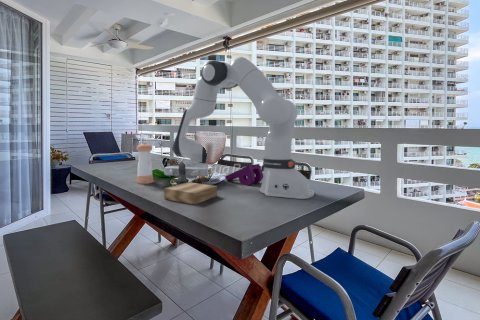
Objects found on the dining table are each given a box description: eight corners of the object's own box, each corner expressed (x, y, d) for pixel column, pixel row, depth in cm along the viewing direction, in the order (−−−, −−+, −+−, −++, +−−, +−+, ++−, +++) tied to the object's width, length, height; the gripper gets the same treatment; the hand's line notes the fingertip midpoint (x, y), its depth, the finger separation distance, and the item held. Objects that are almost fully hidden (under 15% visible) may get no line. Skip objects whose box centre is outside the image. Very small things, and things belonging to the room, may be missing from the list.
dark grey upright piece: (188, 189, 117) (188, 161, 116) (174, 189, 117) (174, 161, 115) (189, 186, 123) (189, 160, 122) (176, 186, 123) (176, 160, 121)
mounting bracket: (227, 194, 135) (254, 182, 125) (221, 178, 137) (248, 165, 126) (238, 190, 143) (265, 179, 132) (233, 175, 144) (259, 163, 134)
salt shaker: (140, 184, 126) (139, 143, 124) (134, 182, 131) (133, 142, 129) (155, 182, 131) (154, 142, 129) (149, 180, 136) (148, 142, 134)
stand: (216, 196, 106) (217, 186, 106) (194, 204, 94) (194, 193, 94) (188, 191, 113) (188, 182, 113) (164, 198, 101) (164, 188, 101)
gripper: (169, 162, 133) (158, 165, 119) (210, 163, 131) (204, 167, 117) (169, 174, 133) (158, 180, 120) (210, 176, 131) (204, 181, 118)
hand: (181, 173), depth 118 cm, fingers open, 8 cm apart
